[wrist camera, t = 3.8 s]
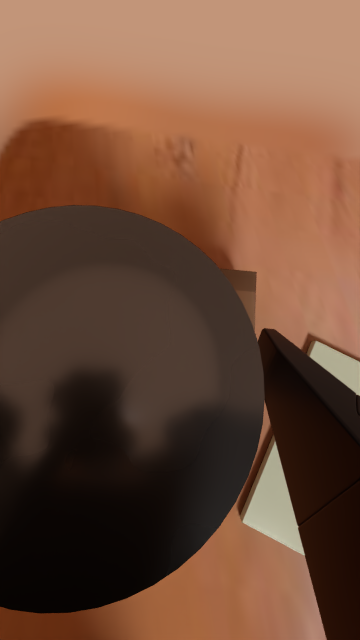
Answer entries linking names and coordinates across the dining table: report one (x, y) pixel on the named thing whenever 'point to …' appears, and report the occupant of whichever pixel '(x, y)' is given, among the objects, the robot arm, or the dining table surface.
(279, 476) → the tile
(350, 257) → the dining table surface
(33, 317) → the canister
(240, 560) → the dining table surface
